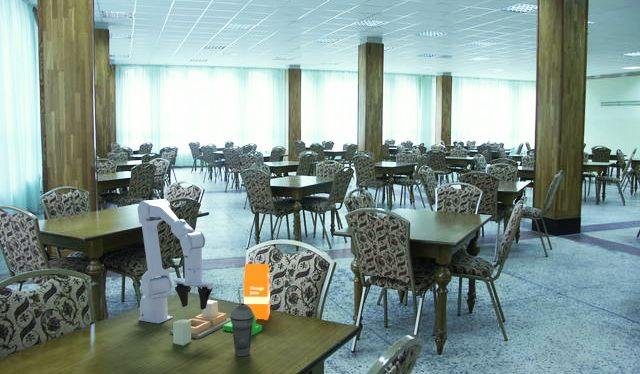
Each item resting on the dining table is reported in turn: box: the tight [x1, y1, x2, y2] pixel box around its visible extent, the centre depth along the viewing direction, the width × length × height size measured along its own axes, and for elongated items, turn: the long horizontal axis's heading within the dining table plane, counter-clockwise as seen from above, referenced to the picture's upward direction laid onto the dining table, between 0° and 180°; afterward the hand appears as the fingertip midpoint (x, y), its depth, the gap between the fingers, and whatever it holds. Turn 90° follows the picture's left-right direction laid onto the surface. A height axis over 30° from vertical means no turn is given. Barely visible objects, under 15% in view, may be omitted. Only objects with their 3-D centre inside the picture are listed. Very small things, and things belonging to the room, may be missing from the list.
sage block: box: [172, 318, 192, 346], centre depth 188 cm, size 4×4×7 cm
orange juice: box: [243, 263, 271, 321], centre depth 215 cm, size 8×9×20 cm
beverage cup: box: [229, 288, 254, 357], centre depth 178 cm, size 7×7×20 cm
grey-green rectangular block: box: [201, 299, 219, 319], centre depth 207 cm, size 4×4×7 cm
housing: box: [169, 311, 231, 340], centre depth 203 cm, size 12×20×3 cm, turn 155°
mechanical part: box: [222, 313, 263, 336], centre depth 200 cm, size 12×6×8 cm, turn 65°
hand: (194, 307), depth 195 cm, fingers open, 7 cm apart
